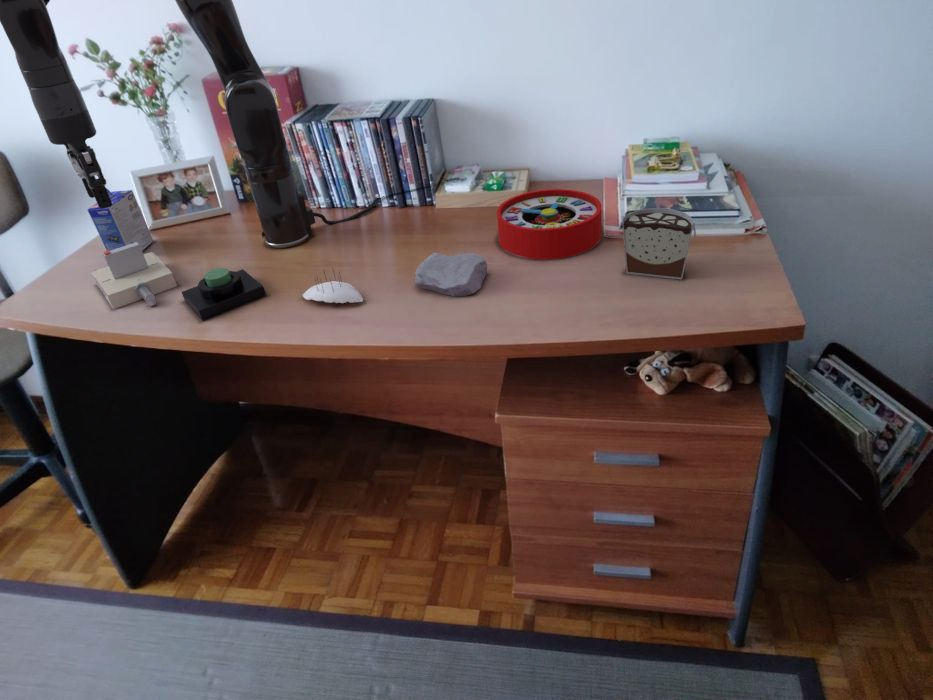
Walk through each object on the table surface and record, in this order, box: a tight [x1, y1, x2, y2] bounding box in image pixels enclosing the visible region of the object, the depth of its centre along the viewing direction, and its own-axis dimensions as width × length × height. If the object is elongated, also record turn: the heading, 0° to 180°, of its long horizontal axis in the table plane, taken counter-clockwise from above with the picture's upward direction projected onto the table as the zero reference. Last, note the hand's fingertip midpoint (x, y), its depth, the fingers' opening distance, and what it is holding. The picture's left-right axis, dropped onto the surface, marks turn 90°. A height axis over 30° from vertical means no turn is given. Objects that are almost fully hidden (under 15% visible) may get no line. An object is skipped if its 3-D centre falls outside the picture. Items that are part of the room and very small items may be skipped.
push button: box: [203, 267, 232, 287], centre depth 122 cm, size 4×4×2 cm
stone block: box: [414, 252, 488, 298], centre depth 120 cm, size 12×5×10 cm
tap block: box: [91, 251, 178, 310], centre depth 132 cm, size 12×14×3 cm
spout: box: [135, 282, 157, 307], centre depth 125 cm, size 3×5×3 cm, turn 37°
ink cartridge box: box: [87, 187, 154, 252], centre depth 144 cm, size 10×6×14 cm, turn 174°
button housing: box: [181, 268, 267, 322], centre depth 123 cm, size 12×10×4 cm
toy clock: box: [496, 188, 603, 260], centre depth 131 cm, size 20×6×20 cm
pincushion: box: [301, 266, 364, 305], centre depth 118 cm, size 12×6×6 cm, turn 70°
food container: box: [618, 207, 697, 280], centre depth 114 cm, size 12×6×10 cm, turn 65°
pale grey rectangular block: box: [102, 242, 149, 279], centre depth 130 cm, size 6×2×5 cm, turn 127°
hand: (101, 201), depth 124 cm, fingers open, 8 cm apart
